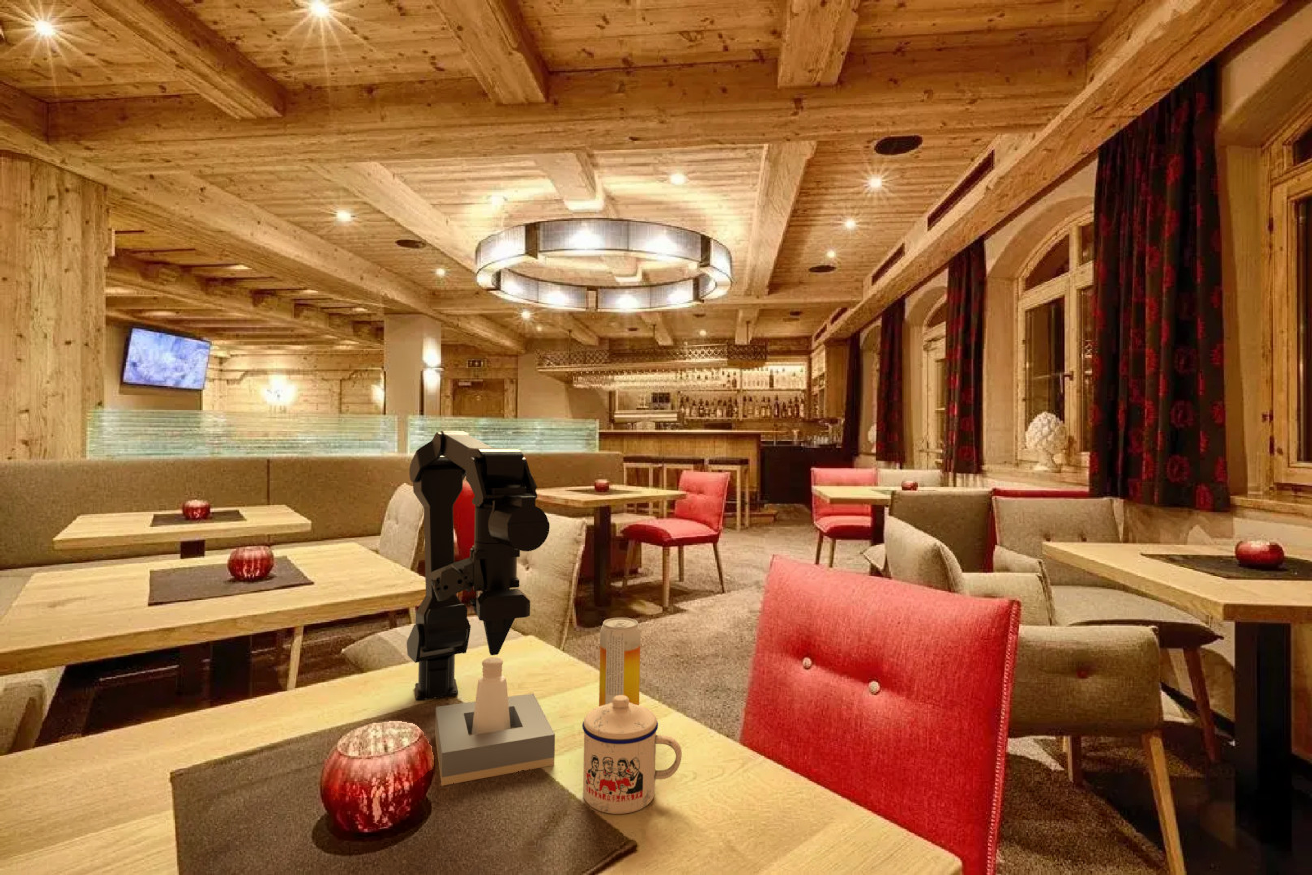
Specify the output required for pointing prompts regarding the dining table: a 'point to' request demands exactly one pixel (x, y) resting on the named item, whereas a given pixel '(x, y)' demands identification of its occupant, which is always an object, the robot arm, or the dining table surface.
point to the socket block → (492, 742)
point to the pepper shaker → (491, 699)
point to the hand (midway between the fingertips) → (493, 654)
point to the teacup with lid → (622, 756)
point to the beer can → (619, 660)
